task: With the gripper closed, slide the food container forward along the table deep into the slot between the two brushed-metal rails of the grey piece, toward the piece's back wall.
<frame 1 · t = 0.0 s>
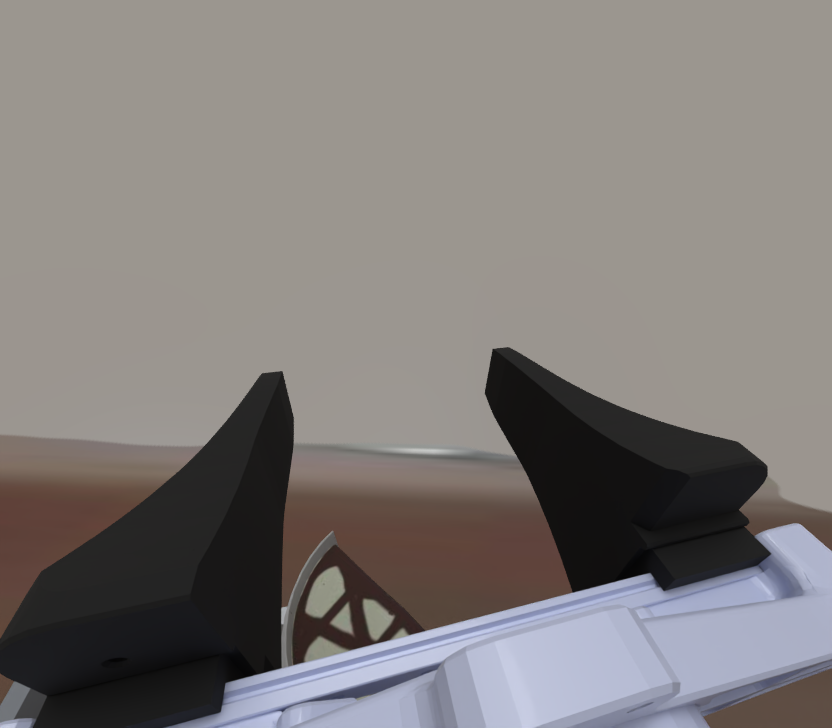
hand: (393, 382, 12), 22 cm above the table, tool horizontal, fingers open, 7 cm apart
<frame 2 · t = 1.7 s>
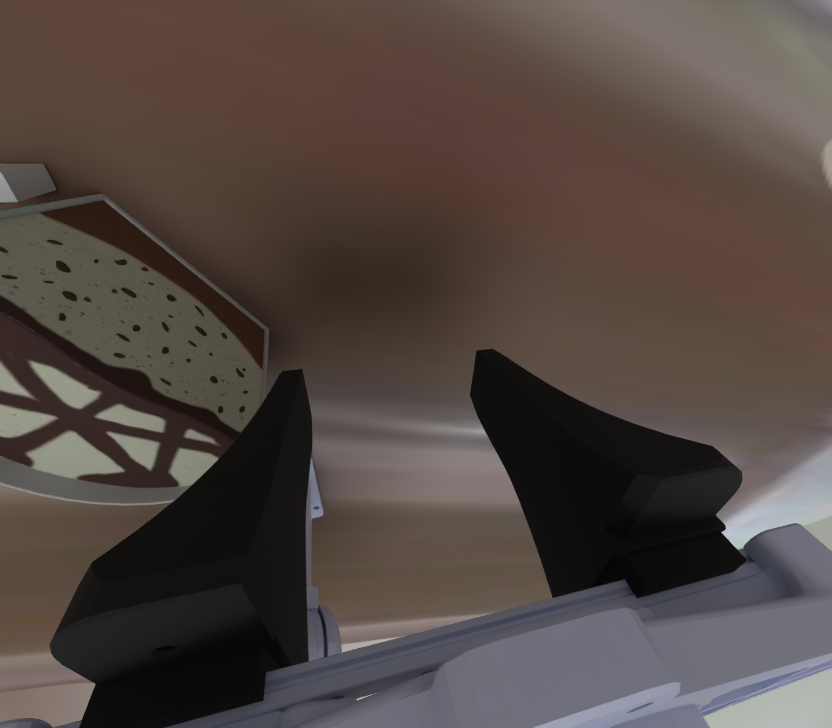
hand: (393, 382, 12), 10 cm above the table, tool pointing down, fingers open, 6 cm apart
food container: (160, 304, 19), on the table
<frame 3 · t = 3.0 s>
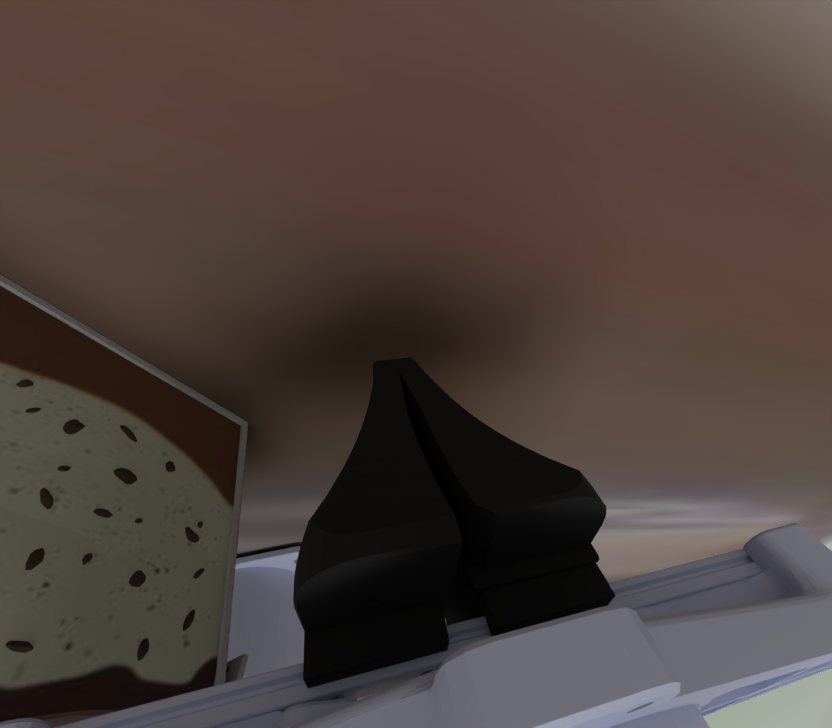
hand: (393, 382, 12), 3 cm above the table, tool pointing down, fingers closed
food container: (84, 400, 13), on the table
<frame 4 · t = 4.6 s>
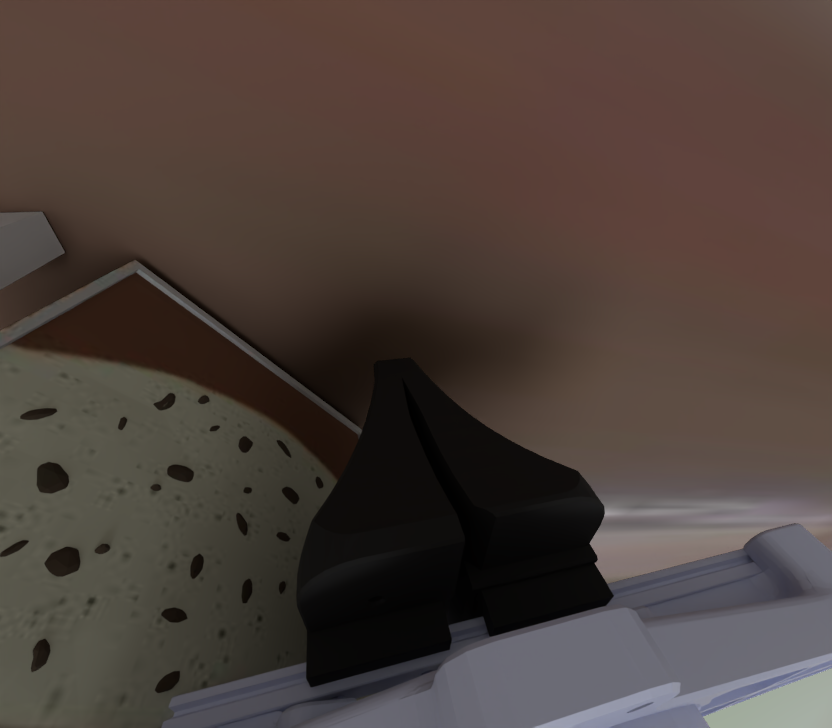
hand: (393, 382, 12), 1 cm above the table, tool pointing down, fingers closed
food container: (215, 405, 13), on the table, touching gripper
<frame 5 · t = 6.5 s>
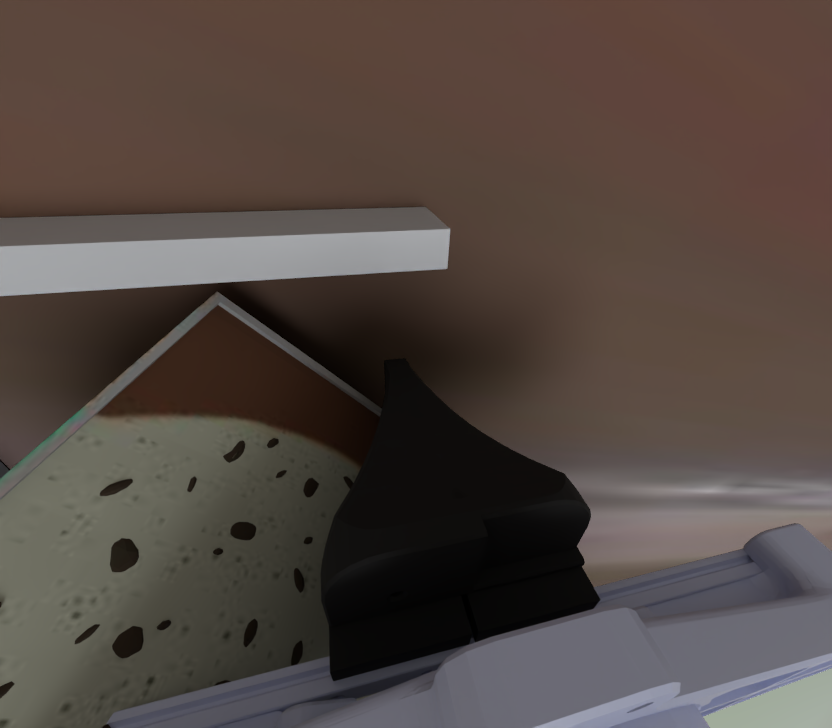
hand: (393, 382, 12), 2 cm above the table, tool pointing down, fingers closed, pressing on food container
grey piece: (180, 384, 12), on the table
food container: (298, 412, 13), on the table, touching gripper
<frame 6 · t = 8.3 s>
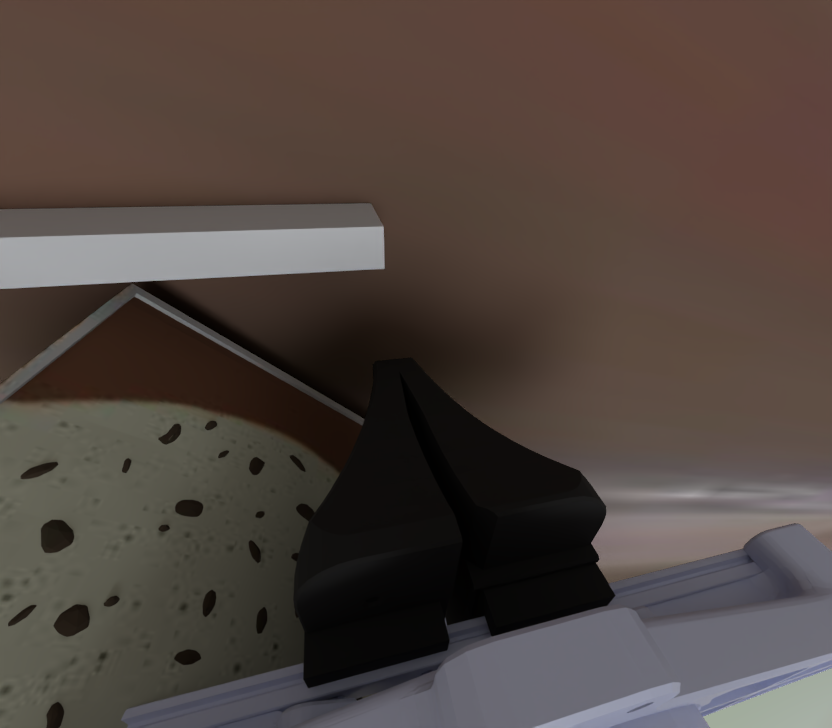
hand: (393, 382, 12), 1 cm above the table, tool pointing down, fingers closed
grey piece: (120, 387, 12), on the table
food container: (234, 412, 13), on the table, touching gripper
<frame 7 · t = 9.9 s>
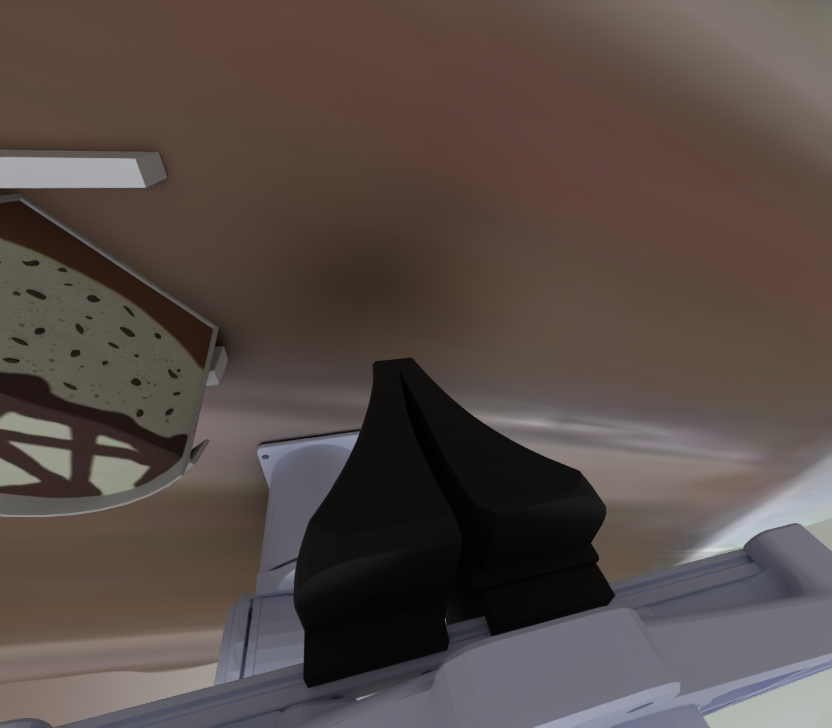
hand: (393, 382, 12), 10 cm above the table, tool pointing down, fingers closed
grey piece: (4, 282, 17), on the table
food container: (101, 307, 19), on the table
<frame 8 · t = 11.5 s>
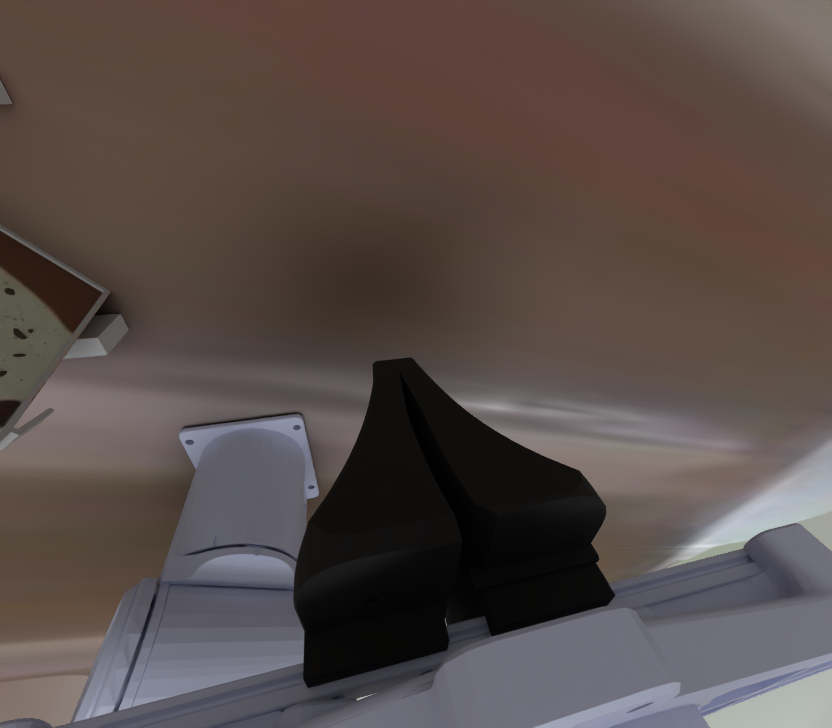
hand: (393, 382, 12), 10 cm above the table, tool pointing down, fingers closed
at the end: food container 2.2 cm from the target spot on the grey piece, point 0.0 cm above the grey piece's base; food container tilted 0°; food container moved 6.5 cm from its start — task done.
